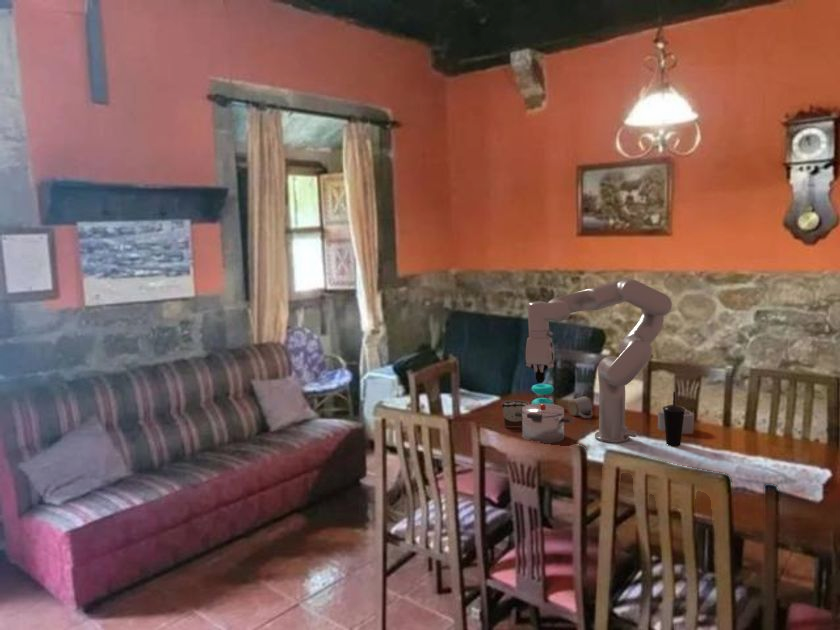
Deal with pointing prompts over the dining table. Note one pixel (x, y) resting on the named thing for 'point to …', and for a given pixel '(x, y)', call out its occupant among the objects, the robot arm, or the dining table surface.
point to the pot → (543, 428)
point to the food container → (512, 412)
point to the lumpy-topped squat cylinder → (687, 421)
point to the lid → (542, 410)
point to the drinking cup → (673, 423)
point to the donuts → (542, 393)
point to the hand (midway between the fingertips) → (540, 382)
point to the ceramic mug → (580, 407)
